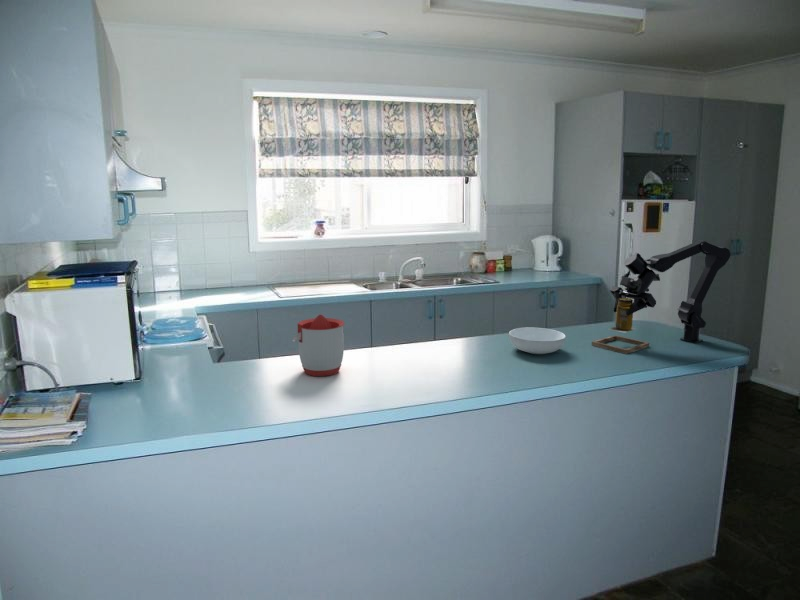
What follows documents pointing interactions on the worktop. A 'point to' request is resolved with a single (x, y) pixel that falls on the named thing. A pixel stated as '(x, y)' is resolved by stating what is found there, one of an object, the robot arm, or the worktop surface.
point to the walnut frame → (600, 344)
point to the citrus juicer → (320, 345)
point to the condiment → (623, 316)
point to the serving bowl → (537, 340)
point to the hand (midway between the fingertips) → (620, 313)
